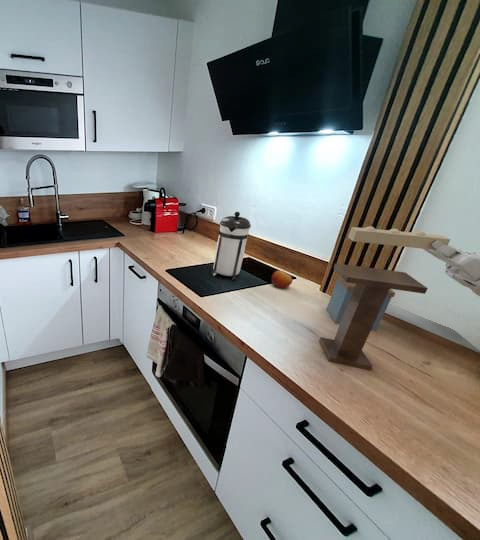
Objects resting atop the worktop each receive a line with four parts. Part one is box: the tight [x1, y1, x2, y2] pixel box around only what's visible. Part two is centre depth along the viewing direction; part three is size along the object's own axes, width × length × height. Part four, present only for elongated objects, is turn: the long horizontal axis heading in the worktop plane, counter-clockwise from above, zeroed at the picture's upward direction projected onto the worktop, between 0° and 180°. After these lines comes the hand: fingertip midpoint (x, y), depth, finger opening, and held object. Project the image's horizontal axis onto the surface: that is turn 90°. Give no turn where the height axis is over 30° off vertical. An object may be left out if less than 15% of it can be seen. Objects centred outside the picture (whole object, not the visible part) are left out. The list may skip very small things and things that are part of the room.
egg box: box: [347, 225, 451, 250], centre depth 85 cm, size 22×4×5 cm, turn 70°
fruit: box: [271, 270, 293, 289], centre depth 124 cm, size 8×8×8 cm
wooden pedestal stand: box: [318, 263, 429, 371], centre depth 79 cm, size 16×10×26 cm, turn 70°
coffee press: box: [210, 211, 252, 282], centre depth 131 cm, size 17×16×30 cm
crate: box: [326, 273, 396, 331], centre depth 99 cm, size 13×11×14 cm
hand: (427, 239), depth 83 cm, fingers closed on egg box, 4 cm apart
